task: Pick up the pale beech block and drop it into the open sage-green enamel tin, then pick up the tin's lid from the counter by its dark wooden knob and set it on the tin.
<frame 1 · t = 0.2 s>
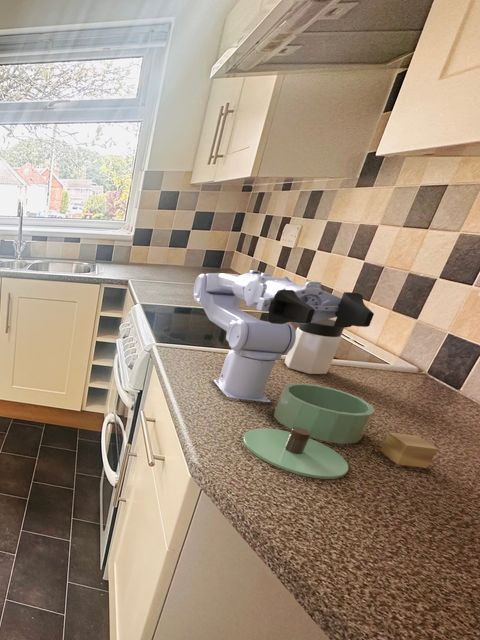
hand: (339, 318, 61), 22 cm above the countertop, tool horizontal, fingers open, 7 cm apart
block: (400, 461, 66), on the countertop
jar: (304, 369, 104), on the countertop
lid: (292, 452, 66), point 1 cm above the countertop
tin: (314, 427, 76), on the countertop
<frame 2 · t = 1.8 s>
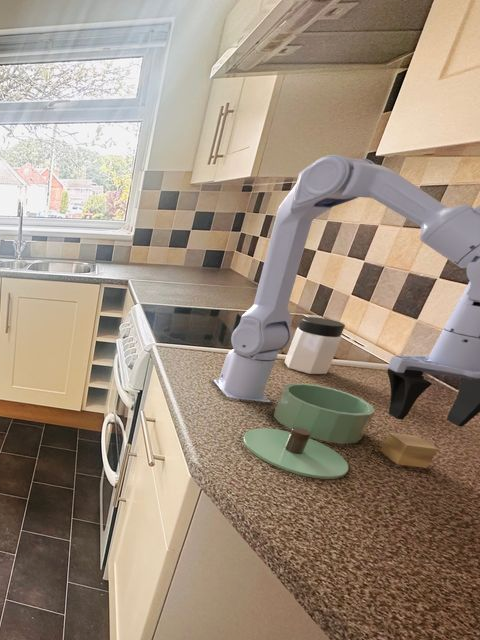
hand: (424, 419, 63), 8 cm above the countertop, tool pointing down, fingers open, 7 cm apart
nothing on the countertop moved.
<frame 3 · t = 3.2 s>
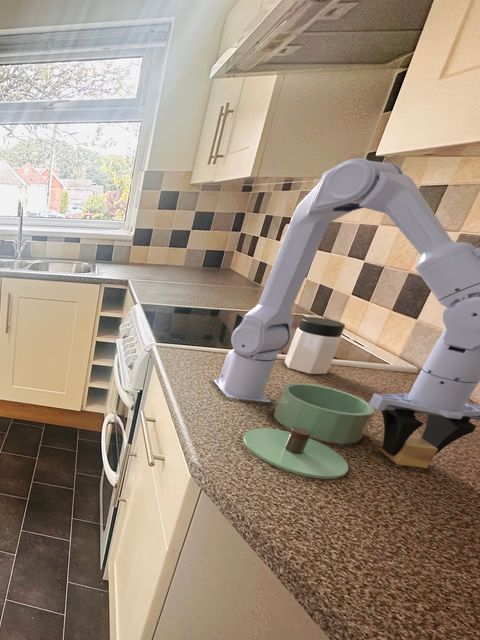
hand: (404, 454, 66), 1 cm above the countertop, tool pointing down, fingers closed on block, 4 cm apart
block: (401, 461, 66), on the countertop, touching gripper
everything else where it was.
when the fingers open (2 cm above the countertop, at t = 7.7 s): block stays where it is, resting on tin.
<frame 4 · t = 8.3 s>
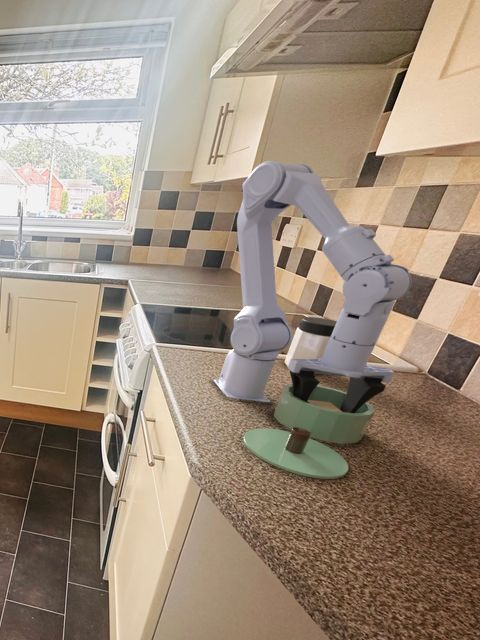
hand: (320, 412, 74), 3 cm above the countertop, tool pointing down, fingers open, 7 cm apart
block: (315, 425, 75), resting on tin
everything else where it was.
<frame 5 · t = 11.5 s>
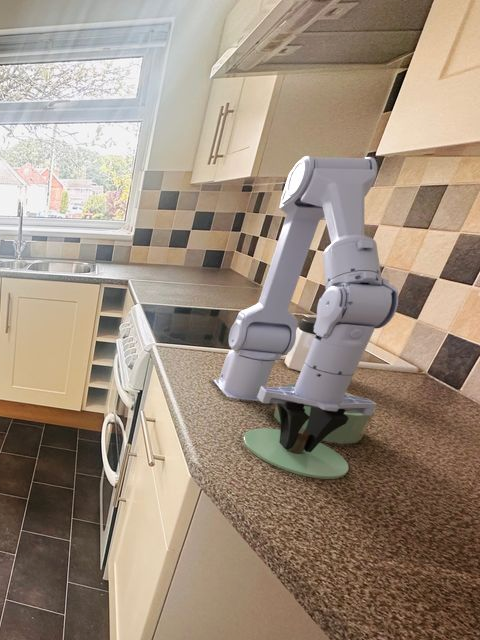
hand: (294, 447, 66), 2 cm above the countertop, tool pointing down, fingers closed on lid, 2 cm apart
lid: (292, 452, 66), point 1 cm above the countertop, touching gripper
everything else where it was.
when the fingers open (7 cm above the countertop, at t = 15.2 s): lid stays where it is, resting on tin.
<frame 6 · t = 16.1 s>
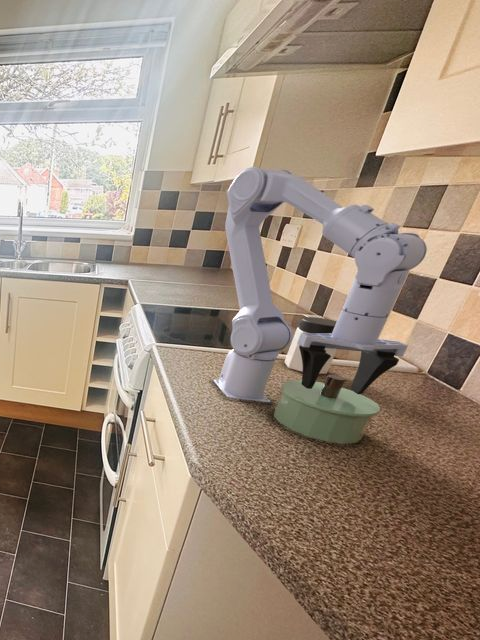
hand: (330, 389, 72), 8 cm above the countertop, tool pointing down, fingers open, 7 cm apart
lid: (327, 398, 73), point 6 cm above the countertop, touching tin
everything else where it was.
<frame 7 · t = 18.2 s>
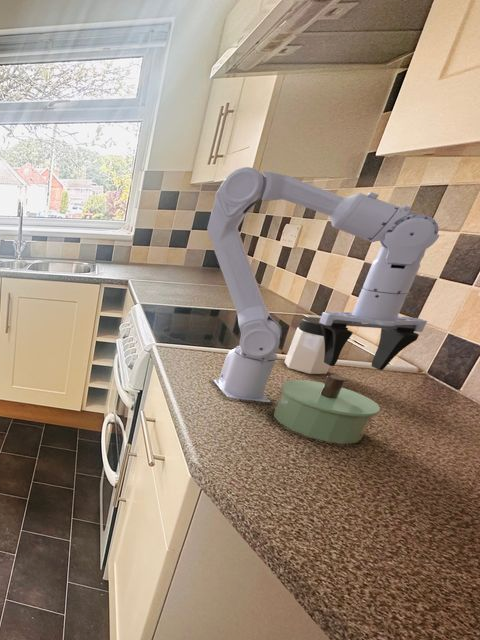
hand: (352, 366, 76), 10 cm above the countertop, tool pointing down, fingers open, 7 cm apart
nothing on the countertop moved.
at the end: block inside the target area in the tin (0.0 cm from its centre), point 0.4 cm above the tin's base; lid 0.0 cm off-centre on the tin, point 5.9 cm above the tin's base; lid tilted 0° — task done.
